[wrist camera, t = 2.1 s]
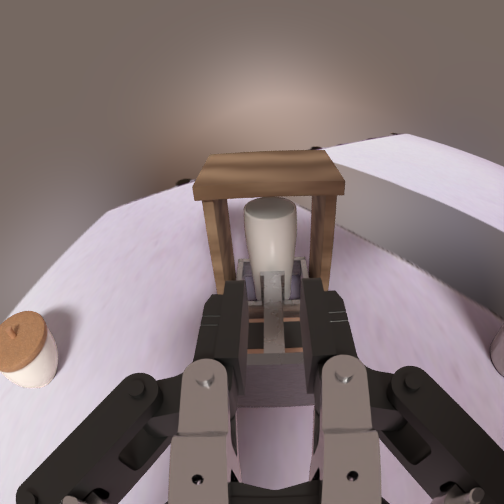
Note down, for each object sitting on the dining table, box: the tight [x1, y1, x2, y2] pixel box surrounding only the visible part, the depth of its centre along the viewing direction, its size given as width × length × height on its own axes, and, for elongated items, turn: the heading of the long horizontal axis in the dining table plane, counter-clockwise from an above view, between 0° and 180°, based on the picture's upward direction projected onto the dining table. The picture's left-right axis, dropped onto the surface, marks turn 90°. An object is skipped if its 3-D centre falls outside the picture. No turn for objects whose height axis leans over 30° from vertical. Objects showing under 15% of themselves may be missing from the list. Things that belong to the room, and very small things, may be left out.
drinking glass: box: [244, 197, 297, 301], centre depth 42 cm, size 7×7×15 cm
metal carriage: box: [236, 257, 315, 407], centre depth 37 cm, size 26×11×11 cm, turn 178°
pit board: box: [247, 317, 303, 354], centre depth 36 cm, size 12×16×2 cm
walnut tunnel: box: [192, 150, 345, 294], centre depth 41 cm, size 12×16×21 cm
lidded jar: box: [0, 311, 58, 388], centre depth 32 cm, size 11×11×9 cm
